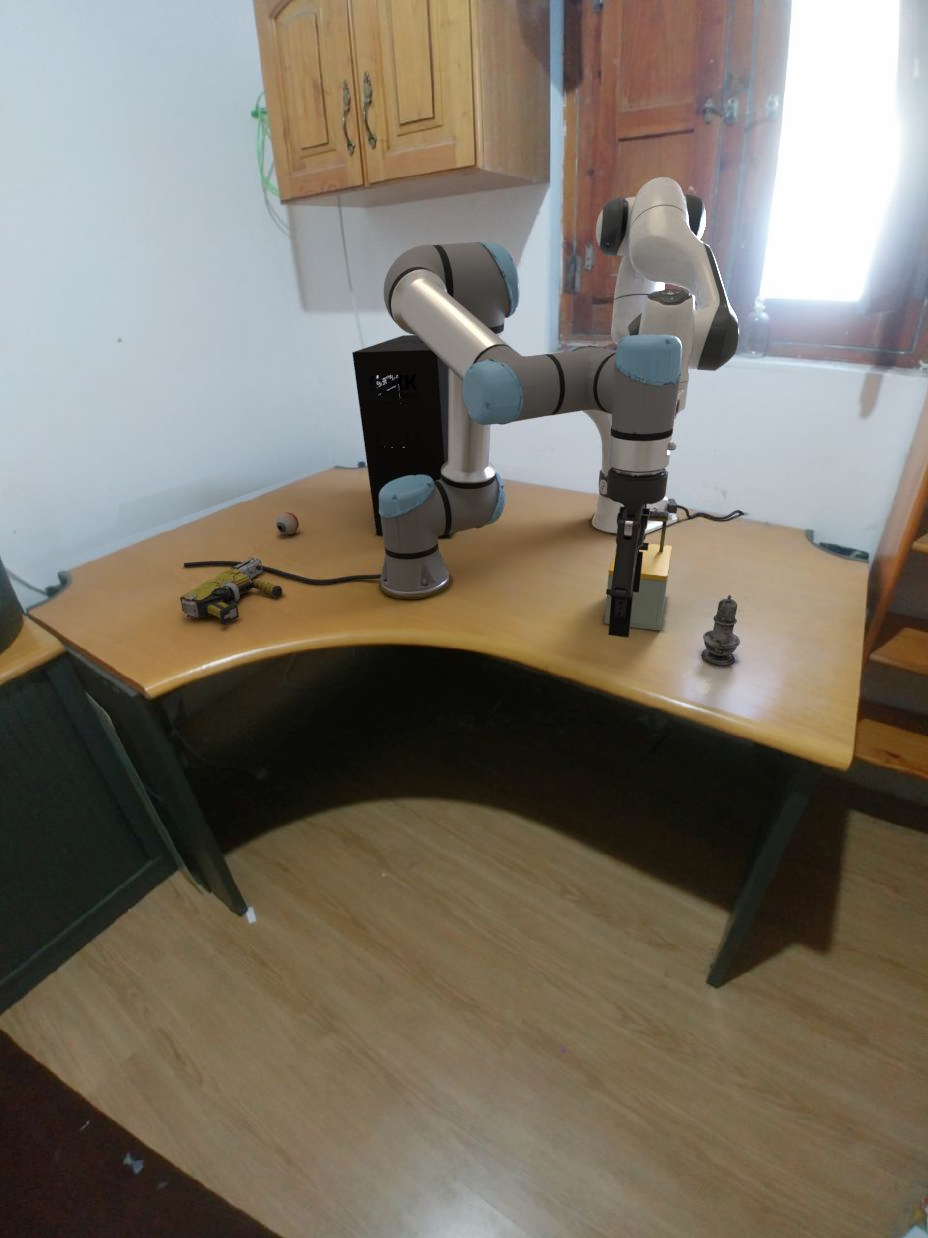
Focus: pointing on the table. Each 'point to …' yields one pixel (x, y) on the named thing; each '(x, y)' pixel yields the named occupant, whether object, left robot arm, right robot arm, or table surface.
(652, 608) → the chest
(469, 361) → the left robot arm
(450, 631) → the table surface
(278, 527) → the eyeball
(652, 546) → the lid
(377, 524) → the black computer tower
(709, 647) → the dark grey chess piece
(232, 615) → the yellow angle grinder
